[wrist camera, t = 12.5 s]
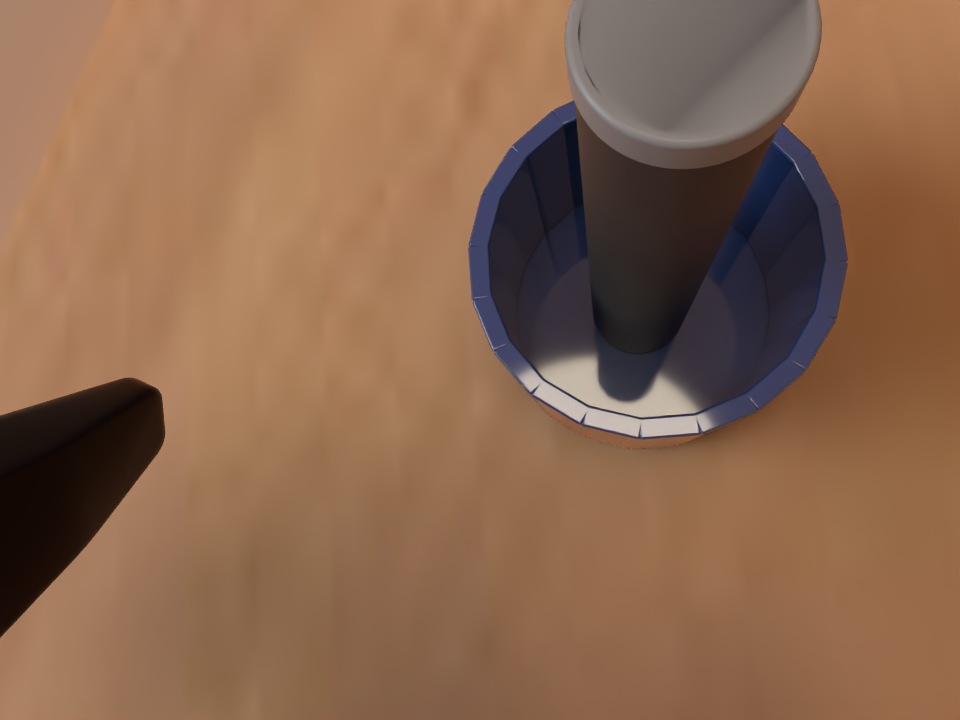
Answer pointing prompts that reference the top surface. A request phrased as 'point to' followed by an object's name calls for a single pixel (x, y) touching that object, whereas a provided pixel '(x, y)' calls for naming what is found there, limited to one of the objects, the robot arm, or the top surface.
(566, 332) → the blue cup
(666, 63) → the gray cylinder
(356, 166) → the top surface
